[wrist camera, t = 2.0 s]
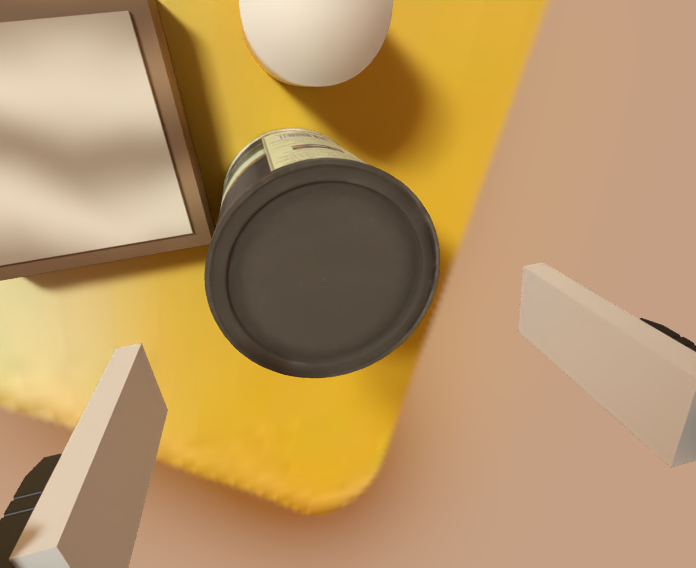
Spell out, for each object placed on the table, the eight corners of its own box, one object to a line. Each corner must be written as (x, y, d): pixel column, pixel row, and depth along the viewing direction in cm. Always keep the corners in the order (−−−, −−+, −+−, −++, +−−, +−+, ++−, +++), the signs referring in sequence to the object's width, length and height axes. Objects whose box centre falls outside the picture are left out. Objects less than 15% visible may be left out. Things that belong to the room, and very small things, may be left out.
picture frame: (-124, 22, 22) (-179, 12, 19) (154, -3, 24) (142, -15, 21) (3, 265, 28) (-25, 286, 25) (215, 229, 30) (212, 245, 27)
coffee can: (261, 288, 33) (270, 411, 20) (194, 162, 28) (152, 224, 16) (382, 236, 33) (463, 326, 21) (336, 103, 28) (405, 116, 16)
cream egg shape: (228, -42, 24) (220, -95, 17) (348, -51, 25) (387, -105, 18) (254, 92, 27) (256, 94, 20) (359, 79, 28) (397, 77, 21)
